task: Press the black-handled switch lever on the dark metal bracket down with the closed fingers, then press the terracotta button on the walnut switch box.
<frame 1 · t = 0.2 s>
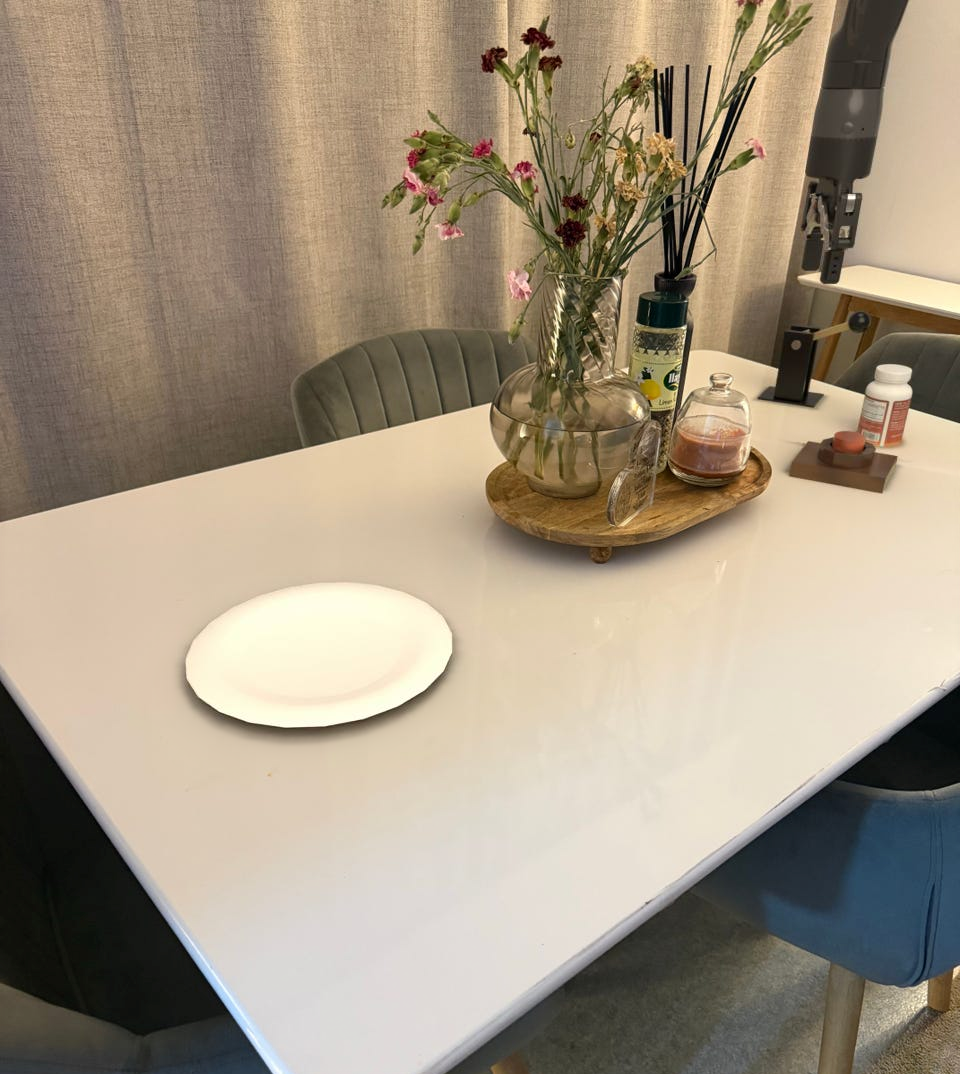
hand: (819, 276, 118), 24 cm above the table, tool pointing down, fingers open, 8 cm apart
button: (848, 442, 122), point 4 cm above the table, slide at 0.1 cm
switch box: (841, 473, 125), on the table
pill bottle: (876, 445, 134), on the table
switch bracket: (789, 402, 150), on the table
plate: (322, 660, 88), on the table
switch lever: (830, 331, 142), point 12 cm above the table, hinge at 25.0°
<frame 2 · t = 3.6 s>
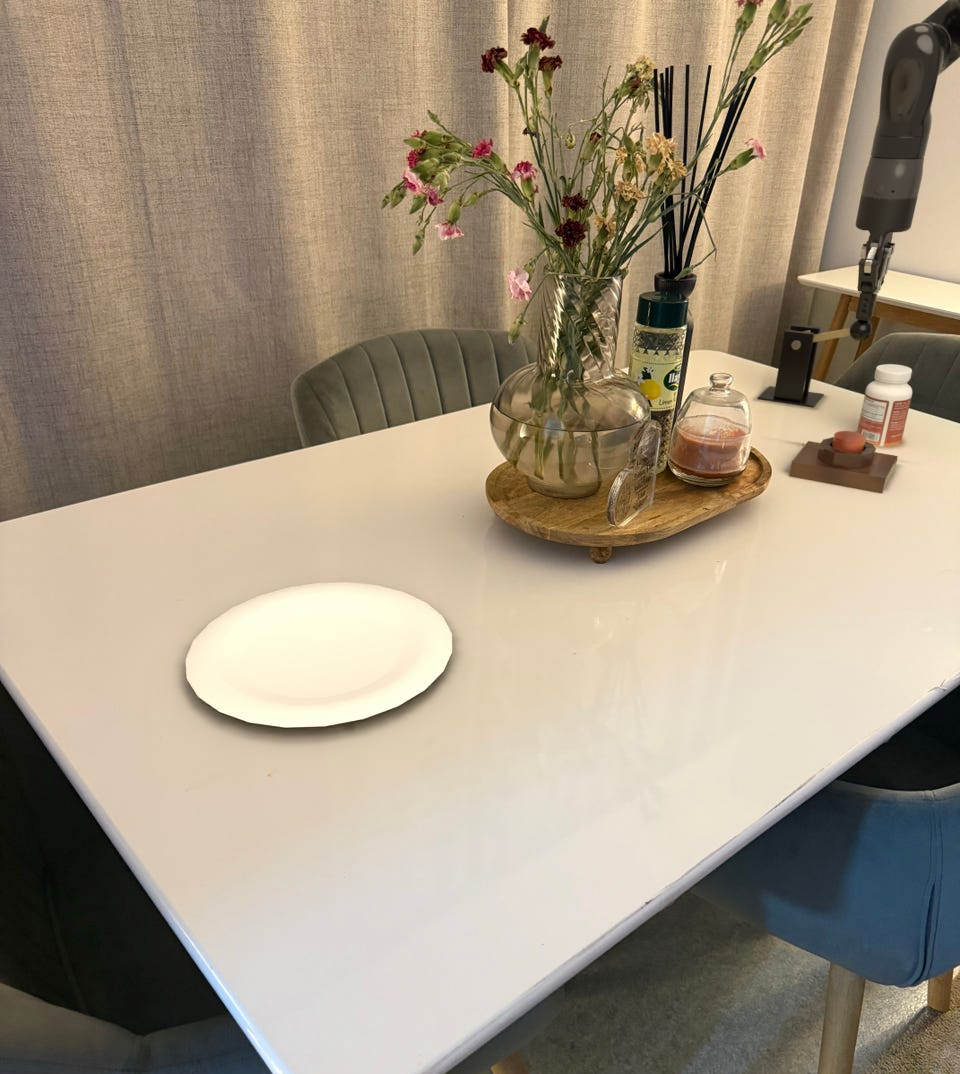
hand: (863, 319, 139), 14 cm above the table, tool pointing down, fingers closed
switch lever: (830, 335, 142), point 11 cm above the table, hinge at 17.3°
everything else where it was.
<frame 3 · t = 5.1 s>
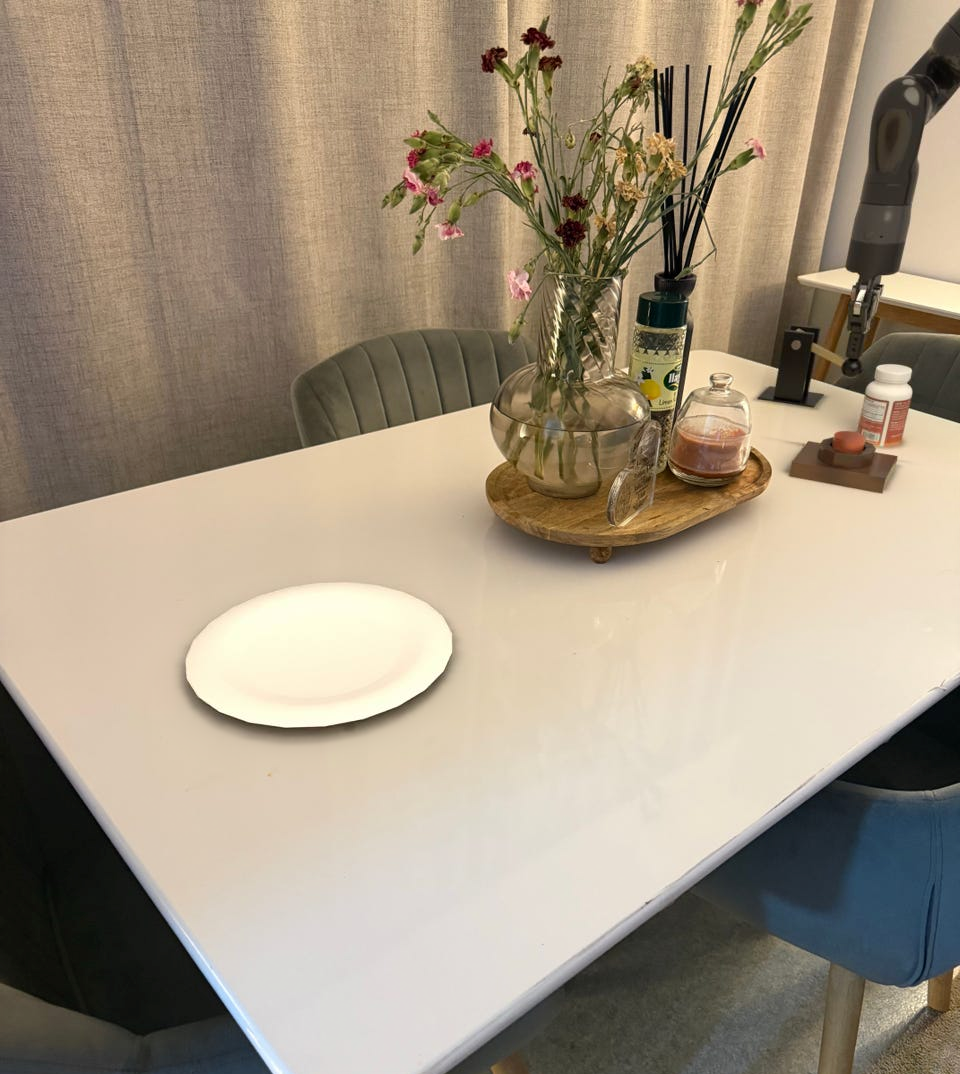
hand: (853, 357, 142), 9 cm above the table, tool pointing down, fingers closed
switch lever: (826, 354, 144), point 8 cm above the table, hinge at -20.1°
everything else where it was.
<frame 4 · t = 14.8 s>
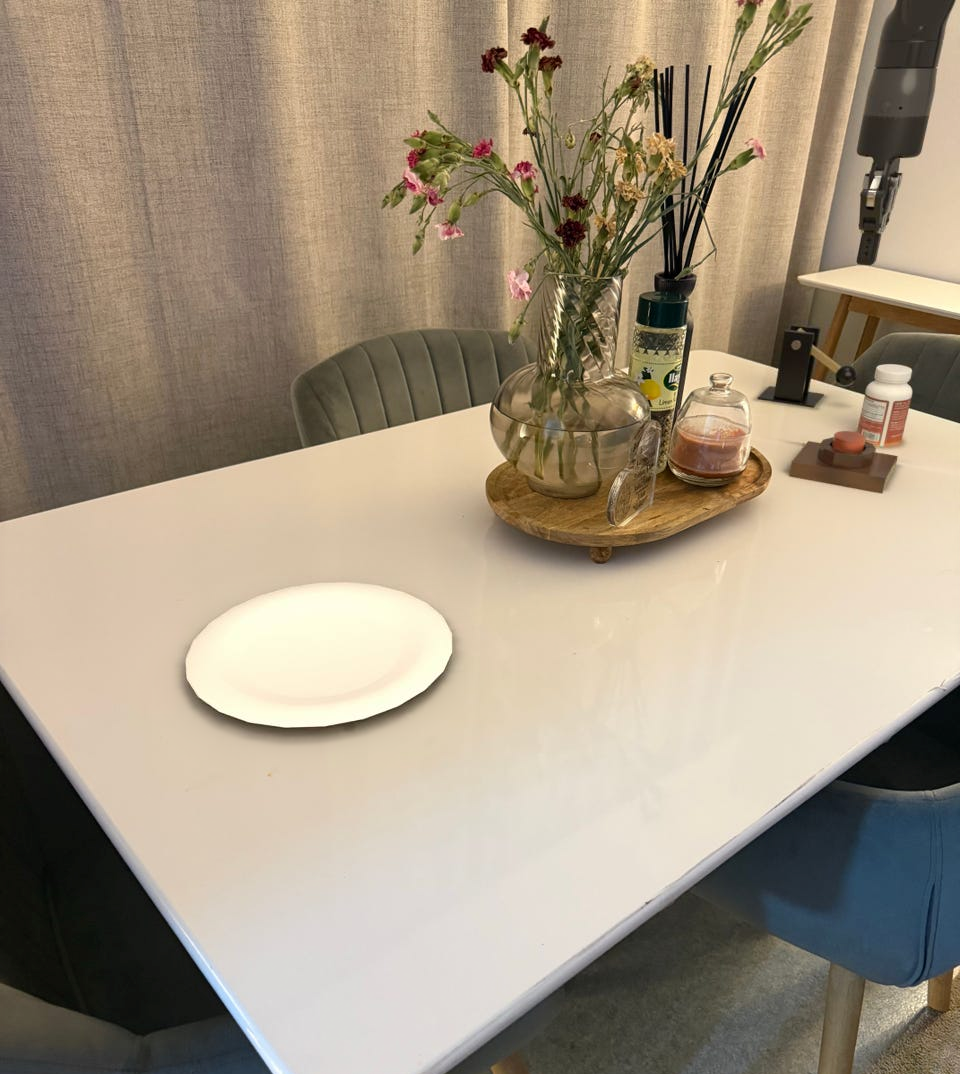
hand: (865, 263, 120), 25 cm above the table, tool pointing down, fingers closed
switch lever: (823, 358, 145), point 8 cm above the table, hinge at -29.8°
everything else where it was.
at the end: switch lever at -30° (first picture: +25°); button pushed in 1.1 cm at the most during the clip, back to where it started at the end; button slide at 0.1 cm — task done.
